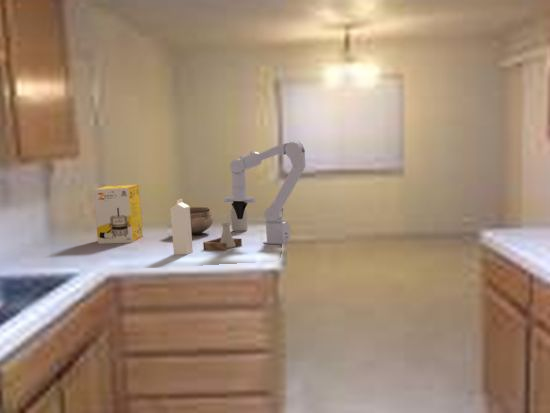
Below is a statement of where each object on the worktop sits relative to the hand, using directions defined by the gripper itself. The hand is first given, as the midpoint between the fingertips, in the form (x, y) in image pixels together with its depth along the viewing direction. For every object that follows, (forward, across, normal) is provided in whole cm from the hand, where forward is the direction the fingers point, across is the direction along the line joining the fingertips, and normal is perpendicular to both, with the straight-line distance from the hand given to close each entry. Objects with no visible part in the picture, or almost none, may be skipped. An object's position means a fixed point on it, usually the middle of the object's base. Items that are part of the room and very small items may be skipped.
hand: (240, 219), depth 302 cm
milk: (+11, +11, +26) cm, 30 cm away
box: (+11, +2, +11) cm, 15 cm away
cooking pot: (+11, +38, -17) cm, 43 cm away
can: (+11, +20, -30) cm, 38 cm away
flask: (+11, +1, +10) cm, 14 cm away
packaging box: (+12, +64, +5) cm, 65 cm away
